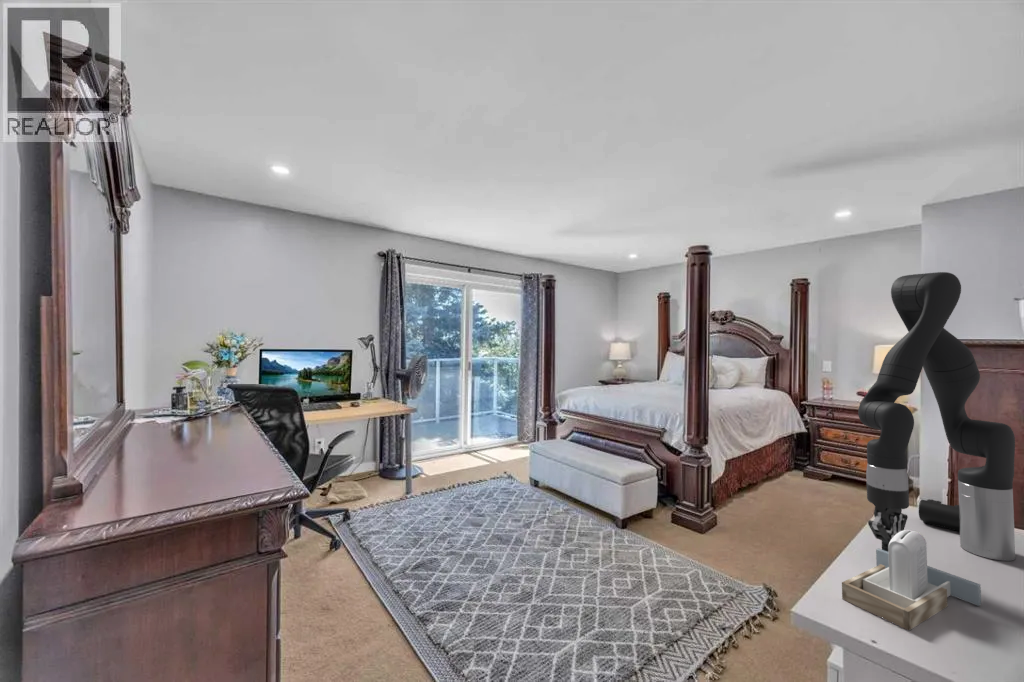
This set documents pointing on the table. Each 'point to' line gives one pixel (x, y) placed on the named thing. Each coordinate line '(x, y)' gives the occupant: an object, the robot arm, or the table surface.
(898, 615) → the dock housing
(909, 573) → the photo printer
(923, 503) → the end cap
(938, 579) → the tray
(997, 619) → the table surface
